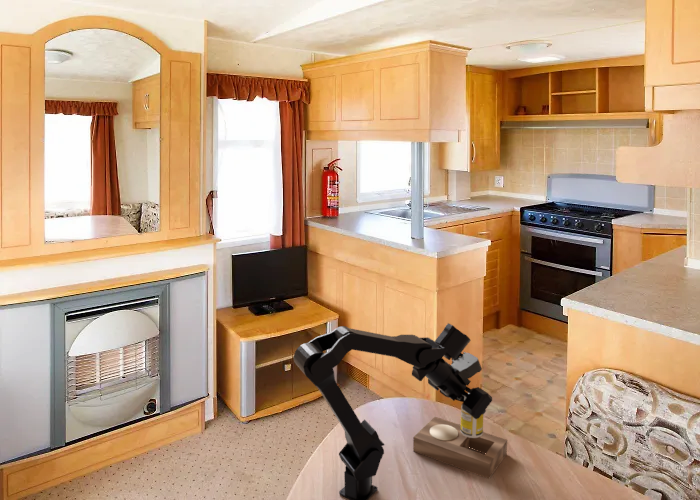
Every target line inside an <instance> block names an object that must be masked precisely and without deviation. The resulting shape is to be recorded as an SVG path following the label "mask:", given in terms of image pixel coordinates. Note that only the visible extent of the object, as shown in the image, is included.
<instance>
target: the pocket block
mask: <svg viewBox="0 0 700 500" xmlns="http://www.w3.org/2000/svg"><path fill="white" fill-rule="evenodd" d="M412 441H413V446H412V447H413V448H412V449H413V452H415V453H416V454H417V453H418V454H420V455H422V456H425V457H429V458H430V459H434V460H437V461H439V462H442V463H444V464H447V465H449V466H452V467H455V468H458V469H461V470H462V471H466V472H468V473H471V474H475V475H477V476H479V477H482V478H484V479H487V480H489V479H490V478H492V475H493V474H494V472H495V471H496V470H497V468H498V467H499V465H500V464H501V463H502V461H503V460H504V459H505V457H507V453H508V439H506V438H504V437H499V436H497V435H493V434H490V433H488V432H484V431H483V434H482V436H480V437H478V438H469V437H466V436H464V435H463V434H462V433H461V423H460V424H459V423H456V422H453V421H450V420H447V419H444V418H440V417H437V416H434V417H433V418H432V419H430V421H429V422H428V423H427V424H426V425H424V426H423V427H422V428H421V429H420V430H419V431H418V432H417V433H416V434H415V435H414V436H413V439H412ZM469 447H470V448H469ZM471 448H473V449H475V450H473V449H471ZM476 450H478V451H476ZM479 451H481V452H479ZM482 452H483V453H482ZM485 453H486V454H485Z"/></svg>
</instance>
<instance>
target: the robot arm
mask: <svg viewBox="0 0 700 500" xmlns="http://www.w3.org/2000/svg"><path fill="white" fill-rule="evenodd" d="M470 342H471V339H470V337H469V336H468V335H467V334H465V333H464V332H462V331H461V330H459V329H457V327H455V326H454V325H453V324H451V323H449V322H447V324H446V325H445V327H444V328H443V330H442V331H441V333H440V334H439V335H438V336H437V338H436V339H435V340H433V339H432V338H430V337H428V336H427V337H425V336H424V337H419V336H418V335H415V334H400V335H396V336H391V335H386V334H380V333H374V332H370V331H366V330H365V331H364V330H359V329H355V328H351V327H348V326H344V325H342V326H338V327H336V328H334V329H333V330H331V331H330V332H327V333H324V334H321V335H319V336H316V337H315V338H313V339H311V340H310V341H307V342H305V343H303V344H300V345H299V346H298V347H297V348H296V350H295V351H294V353H293V356H292V357H293V361H294V364H295V366H297V367H298V368H299V370H300V371H301V372H302V373H303V374H304V375H305V377H306V378H307V379H308V380H309V381H310V382H311V383H312V384H313V385H314V386H315V387H316V388H317V389H318V391H319V392H320V394H321V396H322V397H323V399H324V400H325V402H326V404H327V405H328V407H329V408H330V410H331V411H332V413H333V415H334V416H335V418H336V419H337V421H338V423H339V424H340V425H341V427H342V429H343V430H344V437H345V440H346V444H345V445H344V446H343V447H342V449H341V450H340V451H339V452H338V456H339V458H340V460H341V462H342V463H344V465H345V471H343V472H344V476H343V477H344V486H343V488H342V489H340V490H339V492H338V493H339V495H340V496H342V497H344V498H347V499H348V500H369V499H370V498H371V497H372V496H373V495H374V494H375V493H376V492H377V491H378V487H377V486H376V485H374V484H373V477H375V476H376V475H377V472H378V470H379V468H380V464H381V460H382V459H383V456H384V454H385V450H384V448H383V446H385V443H384V442H383V441H382V440H381V439H380V437H379V434H378V432H377V431H376V430H375V428H374V427H372V425H371V424H370V423H369V422H368V421H367V420H366V419H363V420H362V422H361V421H360V419H359V418H358V416H357V414H356V412H355V411H354V409H353V407H352V406H351V405H350V403H349V401H348V399H347V397H345V396H346V395H344V393H343V392H342V390H341V388H340V386H339V385H338V382H336V378H335V377H336V376H335V371H334V368H336V367H337V366H339V364H341V362H342V360H343V359H344V358H345V356H346V355H347V354H348V353H349V352H350V351H352V350H354V351H357V352H364V353H370V354H376V355H382V356H387V357H392V358H395V359H398V360H400V361H403V362H404V363H407V364H409V365H410V366H412V370H411V376H412V377H414V378H415V379H416V380H418V381H419V382H422V381H423V380H424V378H425V377H426V379H427V384H428V385H429V386H430V387H432V388H433V389H435V390H436V391H439V393H440V394H441V395H443V396H444V397H445V398H449V399H451V401H453V402H454V401H459V402H461V403H462V404H461V405H462V409H463V410H464V411H466V412H467V413H468V414H469V415H471V416H472V417H473V418H475V419H478V418H479V417H480V416H481V415H482V414H483V415H484V414H485V413H486V412H487V408H489V405H490V404H491V403H492V402H493V396H491V394H489V392H487V391H485V390H484V389H482V388H480V387H479V386H478V387H472V388H470V387H469V385H470V383H471V382H472V381H471V380H470V379H471V378H473V376H475V375H476V374H479V373H480V372H481V371H482V369H483V368H482V366H481V363H480V360H479V358H478V356H475V355H474V354H472V353H470V352H465V351H464V349H465V348H466V347H467V346H468V345H469V343H470ZM324 351H325V352H324ZM326 351H327V352H326ZM443 357H444V358H445V359H446V360H449V361H450V360H451V363H448V362H447V361H446V360H445V359H444V358H443ZM468 393H469V394H468ZM464 397H466V399H465V401H464Z"/></svg>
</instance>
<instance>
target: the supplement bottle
mask: <svg viewBox="0 0 700 500" xmlns="http://www.w3.org/2000/svg"><path fill="white" fill-rule="evenodd" d="M467 393H468V392H467ZM468 394H469V393H468ZM465 399H466V397H464V401H465ZM460 425H461V433H462V434H463V435H464V436H466V437H469V438H478V437H480V436H482V434H483V432H484V414H482V415H481V416H480V417H479V418H478V419H475V418H473V417H472V416H471V415H469V414H468V413H467V412H466V411H464V410H463V409H462V404H461V407H460Z"/></svg>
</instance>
